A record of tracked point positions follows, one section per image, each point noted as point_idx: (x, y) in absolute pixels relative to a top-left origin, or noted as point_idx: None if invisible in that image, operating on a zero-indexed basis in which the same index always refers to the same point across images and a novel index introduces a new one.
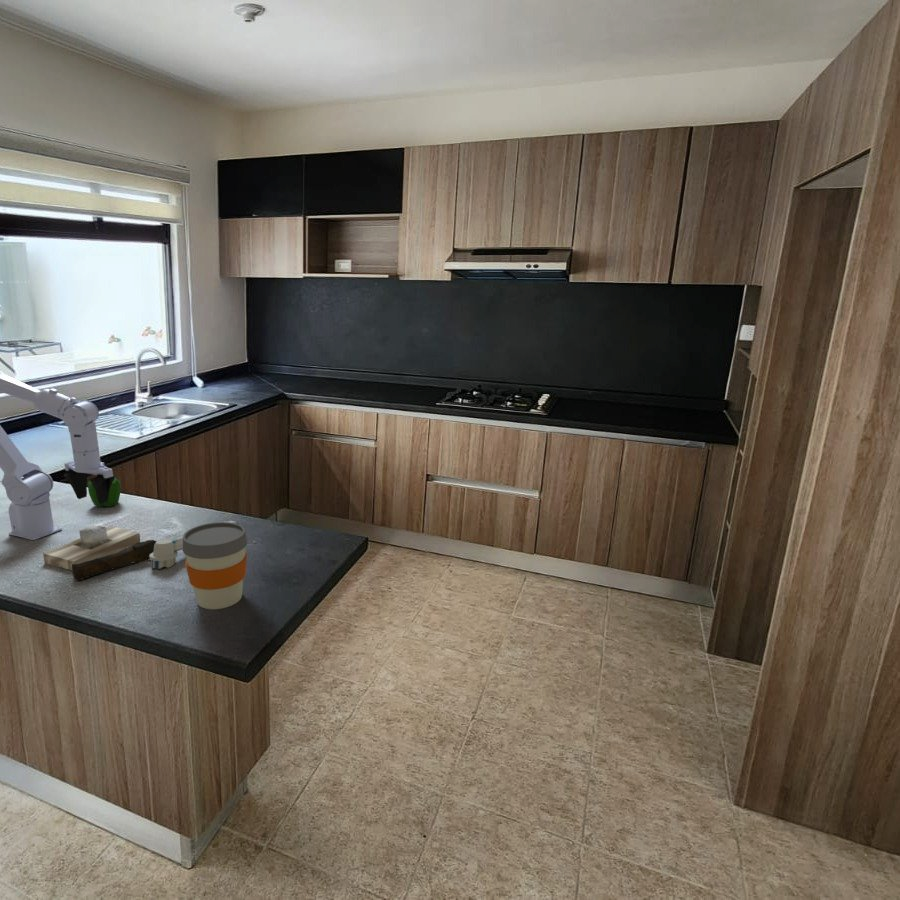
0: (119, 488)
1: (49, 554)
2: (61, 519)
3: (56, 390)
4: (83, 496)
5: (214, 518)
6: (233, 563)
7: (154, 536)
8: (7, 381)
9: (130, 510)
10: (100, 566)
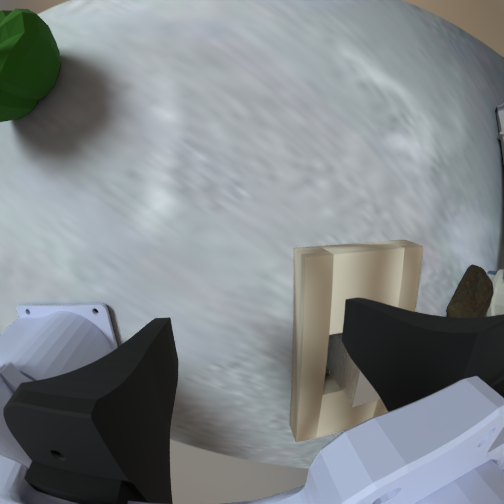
0: (45, 25)
1: (314, 436)
2: (24, 247)
3: None
4: (171, 339)
5: (428, 38)
6: None
7: (410, 192)
8: None
9: (143, 57)
10: None
